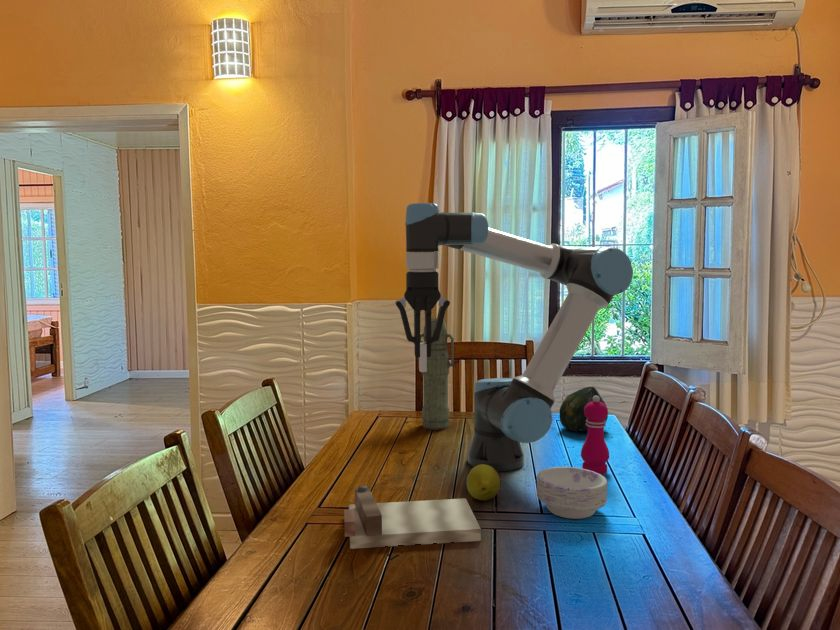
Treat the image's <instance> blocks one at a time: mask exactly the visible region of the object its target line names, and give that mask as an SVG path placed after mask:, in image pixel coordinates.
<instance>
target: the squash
mask: <svg viewBox="0 0 840 630" xmlns="http://www.w3.org/2000/svg"><path fill="white" fill-rule="evenodd" d="M594 396H599V398H600V401H599V402H602V403H604V404H605V405H606V402H605V401H604V399H603V397H602V396H601V395H600V393H599V391H598V390H597V388H595V386H587V387H583V388H581V389H578V390H576V391H574V392H572V393H569V394H568V395H567V396H566V397H565V398H564V400H563V401H562V403H561V405H560V408H559V414H558V415H559V421H560V424H561V426H562V427H563V428H565V429H566V430H568V431H572V432H579V431H581V432H586V431H587V432H588V427H587V425H586V419H587V417H586V416H585V414H584V408H585V406H586V404H588V403H589V402H592V401H593V397H594ZM606 407H607V408H608V405H606ZM608 417H609V414H608V415H607V417H606V418H605V421H606V423H607V420H608ZM606 423H605V424H606Z"/></svg>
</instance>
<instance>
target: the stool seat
mask: <svg viewBox="0 0 840 630" xmlns="http://www.w3.org/2000/svg"><path fill="white" fill-rule="evenodd" d="M376 504H377V506H378V508H379V510H380V512H381V514H382V535H376V536H366V533H365V530H364V528H363V525H362V523H361V520H360V517H359V515H358V512H357V510H356V507H355V503H354V504H353V503H351V504H348V509H344V510H343V512H344V513H343V516H344V537H346V538H347V537H349V549H350V550H351V549H353V550H355V549H369V548H385V546H388V547H399V546H398V545H404V546H415V544H421V545H432V544H433V543H437V544H450V543H451V542H454V543H468V542H481V541H482V538H481V537H482V535H481V534H482V528H481V527H480V524H479V522H478V520H477V519H476V516H475V514H474V512H473V510H472V508H471V506H470V505H469V502H468V500H467V498H463V497H462V498H450V499H449V498H448V499H429V500H427V499H426V500H410V501H408V500H407V501H391V502H376ZM433 545H434V544H433Z"/></svg>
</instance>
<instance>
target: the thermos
mask: <svg viewBox="0 0 840 630" xmlns="http://www.w3.org/2000/svg"><path fill="white" fill-rule="evenodd" d="M436 320H437V318H431V336H433V332H434V328H435V324H436ZM422 337H423V343H425V325H424V326H423V333H420V343H422ZM448 338H449V339H450V355H449V352H448V347H447V344H448ZM454 339H455V338H454V336H453V335H452V334H451V333H448V327H447V324H446V321H445V320H443V324H442V328H441V332H440V337H439V340H438V341H434V342H432V344H431V357H427V372H421V374H422V377H423V406H422V408H421V419H422V428H424V429H425V430H426V429H427V430H431V429H432V430H433V431H434V430H436V431H439V430H438V429H441V430H445V429H448V428H449V427H450V421H449V420H450V406H449V403H448V402H449V396H448V395H449V394H448V393H449V391H448V390H449V389H448V387H449V385H448V384H449V381H448V380H449V377H448V376H449V374H450V367H453V366H454V360H455V359H454V354H455V352H454V350H455V349H454V348H455V347H454V345H455V343H454ZM417 364H418V365H419V357H417Z"/></svg>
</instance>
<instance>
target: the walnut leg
mask: <svg viewBox="0 0 840 630" xmlns="http://www.w3.org/2000/svg"><path fill="white" fill-rule="evenodd" d="M376 503H377V502H376V500H375V497H374V495H373V493H372V492H371V490H370V488H369V486H367V485H358V486H357V487H355V488H354V504H355V507H356V510H357V512H358V515H359V517H360V520H361V523H362V525H363V528H364V530H365V533H366V536H376V535H382V514H381V512H380V510H379V508H378V506H377V504H376Z"/></svg>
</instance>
